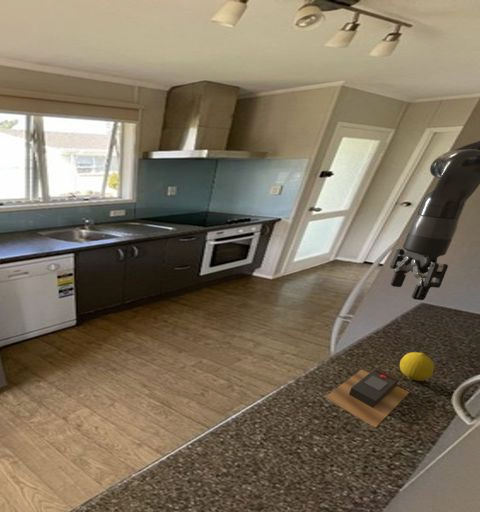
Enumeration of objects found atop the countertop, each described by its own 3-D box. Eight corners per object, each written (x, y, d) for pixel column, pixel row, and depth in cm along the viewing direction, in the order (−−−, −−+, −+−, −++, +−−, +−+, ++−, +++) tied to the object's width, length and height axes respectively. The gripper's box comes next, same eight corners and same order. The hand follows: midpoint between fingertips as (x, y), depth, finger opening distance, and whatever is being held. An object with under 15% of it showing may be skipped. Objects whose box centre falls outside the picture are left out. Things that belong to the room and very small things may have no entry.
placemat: (361, 370, 75) (361, 369, 75) (408, 393, 68) (409, 392, 68) (324, 398, 66) (324, 397, 66) (374, 429, 58) (375, 427, 58)
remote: (372, 408, 63) (376, 400, 62) (348, 394, 67) (351, 386, 66) (396, 385, 70) (399, 378, 69) (373, 374, 73) (375, 367, 72)
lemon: (430, 391, 69) (444, 363, 66) (399, 381, 71) (410, 355, 69) (421, 377, 73) (433, 351, 71) (392, 369, 76) (402, 343, 73)
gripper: (475, 242, 64) (445, 306, 69) (427, 229, 77) (405, 284, 82) (432, 239, 66) (406, 301, 71) (393, 226, 79) (373, 280, 84)
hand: (405, 292), depth 77 cm, fingers open, 8 cm apart
